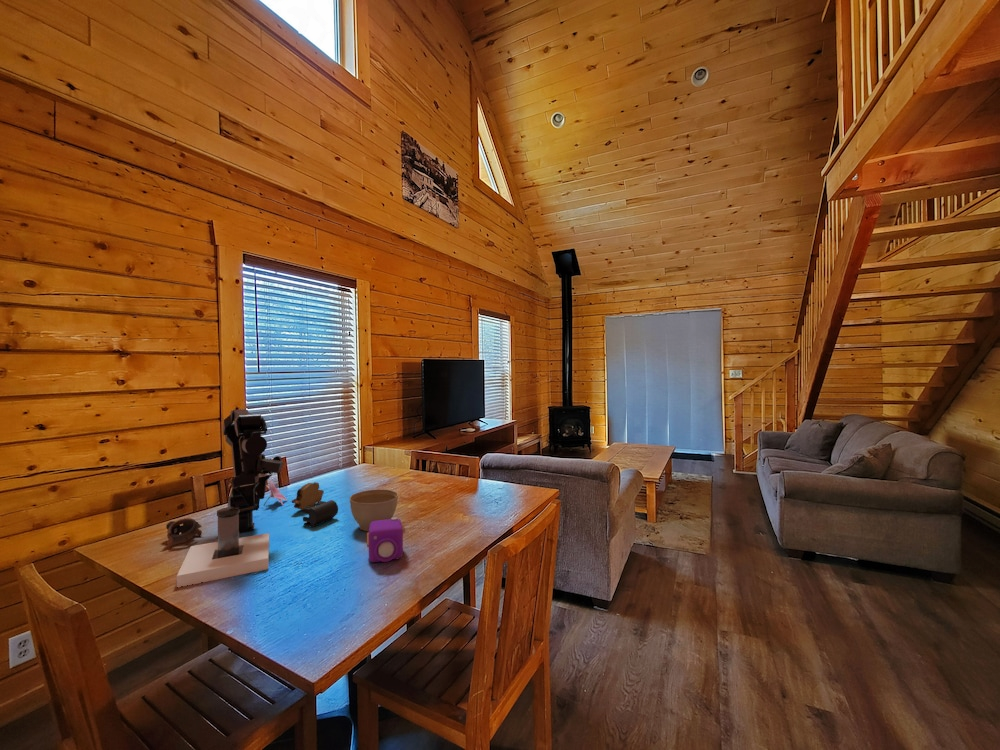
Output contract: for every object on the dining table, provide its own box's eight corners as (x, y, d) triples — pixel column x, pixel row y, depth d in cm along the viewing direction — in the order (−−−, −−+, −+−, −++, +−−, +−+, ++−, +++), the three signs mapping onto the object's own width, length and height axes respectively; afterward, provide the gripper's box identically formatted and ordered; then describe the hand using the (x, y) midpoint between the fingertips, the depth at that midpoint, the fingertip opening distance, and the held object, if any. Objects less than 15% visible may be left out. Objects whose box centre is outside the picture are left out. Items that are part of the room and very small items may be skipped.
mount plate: (191, 556, 120) (191, 546, 120) (269, 542, 130) (269, 532, 130) (176, 587, 103) (176, 575, 103) (268, 568, 113) (268, 558, 113)
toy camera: (371, 572, 111) (371, 535, 110) (363, 552, 123) (362, 519, 123) (411, 563, 116) (410, 528, 115) (399, 545, 128) (399, 513, 128)
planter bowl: (361, 540, 131) (361, 506, 131) (342, 526, 144) (342, 495, 143) (406, 527, 142) (406, 496, 142) (385, 515, 154) (385, 486, 154)
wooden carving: (314, 501, 171) (314, 477, 171) (324, 501, 170) (324, 478, 170) (288, 515, 155) (288, 488, 155) (300, 515, 154) (299, 489, 154)
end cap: (317, 528, 141) (316, 509, 141) (301, 526, 144) (301, 506, 144) (338, 519, 151) (338, 500, 151) (323, 516, 153) (323, 498, 153)
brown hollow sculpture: (211, 536, 136) (206, 519, 132) (185, 560, 128) (179, 543, 124) (181, 525, 138) (175, 508, 134) (154, 548, 130) (146, 530, 126)
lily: (269, 513, 159) (283, 490, 162) (245, 500, 162) (259, 477, 164) (286, 513, 171) (299, 491, 173) (264, 500, 173) (277, 479, 175)
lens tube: (218, 560, 118) (217, 508, 118) (240, 556, 120) (240, 505, 120) (215, 568, 113) (215, 514, 113) (239, 564, 115) (238, 511, 115)
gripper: (269, 452, 123) (276, 504, 123) (286, 445, 141) (292, 490, 141) (228, 459, 120) (234, 512, 120) (250, 451, 138) (256, 497, 138)
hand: (257, 502), depth 130 cm, fingers open, 9 cm apart
